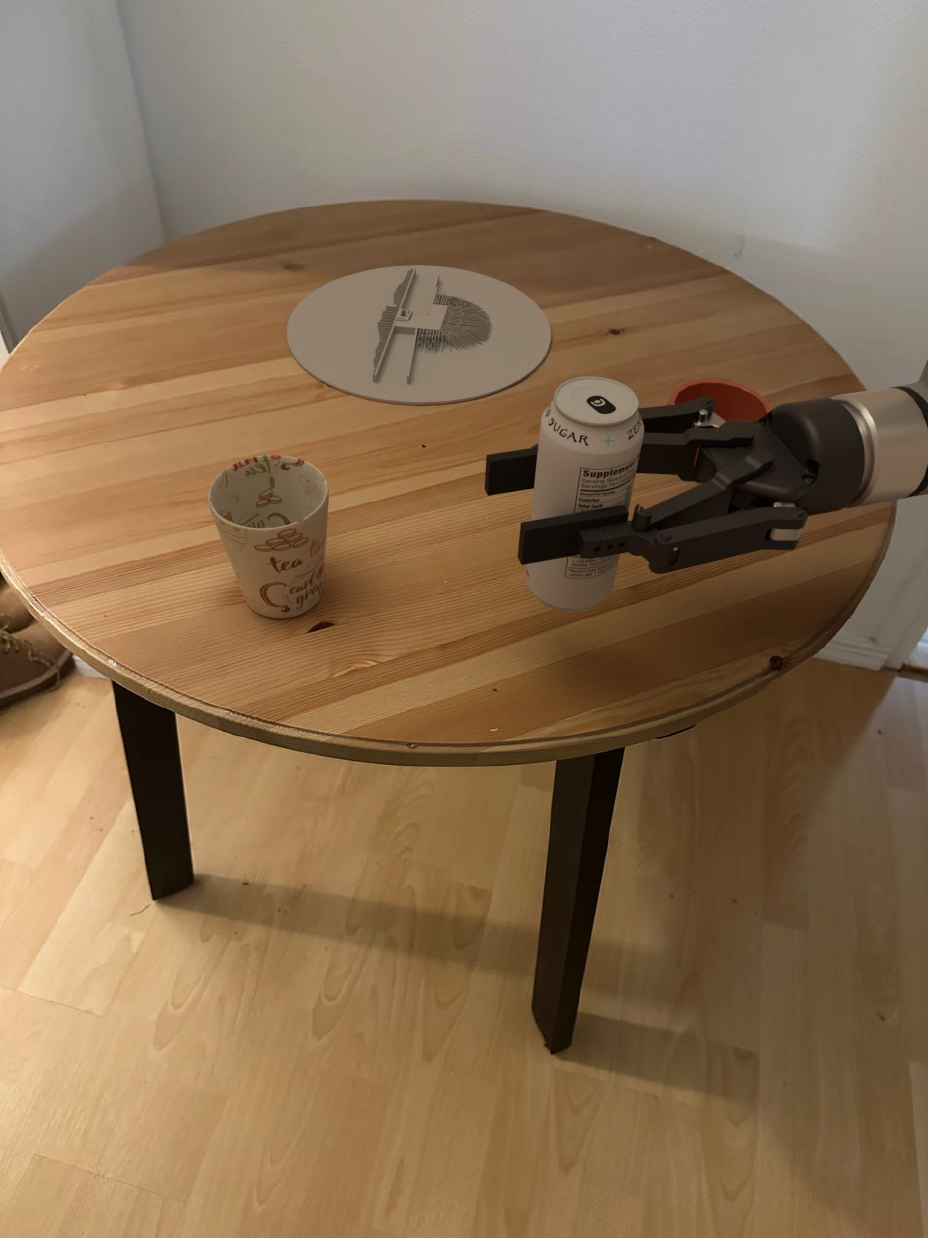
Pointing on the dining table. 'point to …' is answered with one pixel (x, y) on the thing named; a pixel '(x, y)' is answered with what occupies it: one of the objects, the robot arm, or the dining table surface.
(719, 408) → the holder
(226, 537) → the mug
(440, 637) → the dining table surface
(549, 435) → the energy drink can
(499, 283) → the plate
